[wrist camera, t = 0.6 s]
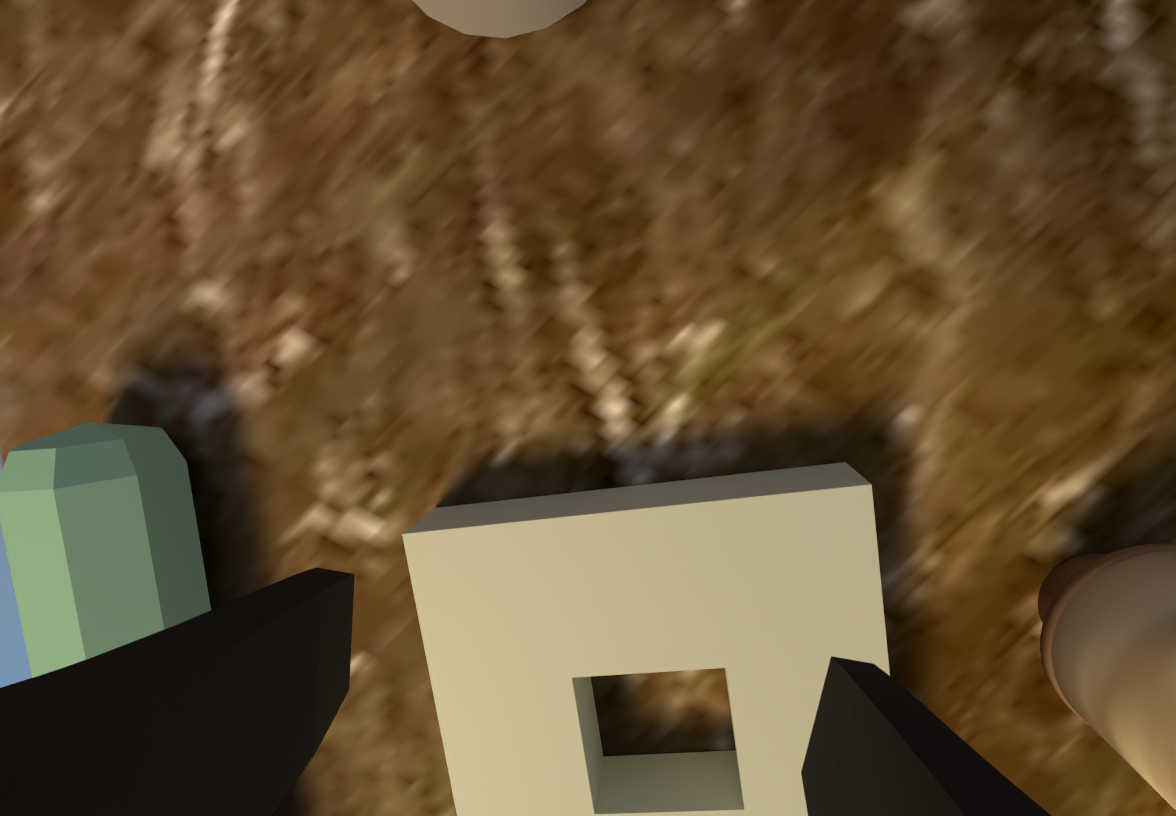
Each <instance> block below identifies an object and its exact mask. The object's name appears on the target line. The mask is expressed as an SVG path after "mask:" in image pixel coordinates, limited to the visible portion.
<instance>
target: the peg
mask: <svg viewBox="0 0 1176 816" xmlns="http://www.w3.org/2000/svg"><path fill="white" fill-rule="evenodd" d="M1038 610H1039V615H1040V618H1041V620H1042V622H1043V625H1042V631H1041V637H1040V651H1041V658H1042V663H1043V667H1044V670H1045V673H1046V676H1047V678H1048V680H1049V682H1050V684H1051V686H1052V687H1053V689H1054V690H1055V692H1056V693H1057V695H1058V696H1059V697H1060V698H1061V699H1062V701H1063V702H1064V703H1065V704H1066V705H1067V706H1068V707H1069V708H1070V709H1071V710H1072V711H1073V712H1074V713H1075V714H1076V715H1077V716H1078V717H1080V718H1081V719H1082V720H1083V721H1084V722H1085V723H1087V724H1088V725H1090V726H1091V727H1092V728H1093V729H1094V730H1095V731H1096V732H1097V733H1098V734H1099V735H1100V736H1101V737H1102V738H1103V739H1104V740H1105V741H1106V742H1107V743H1108V744H1109V745H1110V746H1111V747H1112V748H1113V749H1114V750H1115V751H1116V752H1117V753H1118V754H1119V755H1120V756H1121V757H1122V758H1123V759H1124V760H1125V761H1126V762H1128V763H1129V764H1130V765H1131V766H1132V767H1133V768H1134V769H1135V770H1136V771H1137V772H1138V773H1139V774H1140V775H1141V776H1142V777H1143V778H1144V779H1145V780H1146V781H1147V782H1148V783H1149V784H1150V785H1151V786H1152V787H1153V788H1154V789H1155V790H1156V791H1157V792H1158V793H1159V794H1160V795H1161V796H1162V797H1163V798H1164V799H1165V800H1166V801H1167V802H1168V803H1169V804H1170V805H1171V806H1172V807H1173V808H1174V809H1175V810H1176V544H1167V543H1158V544H1144V545H1137V546H1132V547H1128V548H1124V549H1120V550H1117V551H1115V552H1112V553H1109V554H1106V553H1089V554H1083V555H1079V556H1076V557H1073V558H1070V559H1068V560H1066V561H1065V562H1063V563H1061V564H1060V565H1058V566H1057V567H1056V568H1055V569H1054V570H1053V571H1052V572H1051V573H1050V574H1049V575H1048V576H1047V578H1046V579H1045V581H1044V582H1043V584H1042V587H1041V589H1040V592H1039V597H1038Z"/></svg>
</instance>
